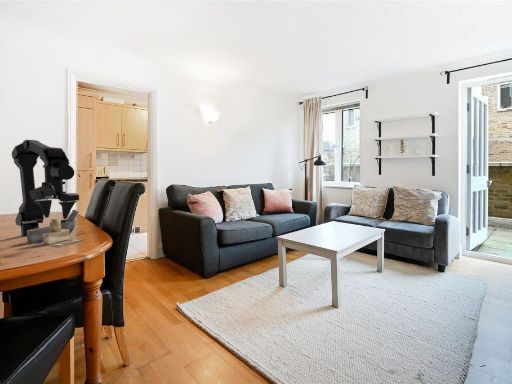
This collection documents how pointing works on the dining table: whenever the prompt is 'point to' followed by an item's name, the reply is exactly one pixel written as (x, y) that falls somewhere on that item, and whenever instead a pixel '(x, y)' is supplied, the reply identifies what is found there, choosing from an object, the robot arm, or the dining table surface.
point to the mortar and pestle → (69, 221)
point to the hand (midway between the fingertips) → (55, 218)
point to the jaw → (56, 233)
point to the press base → (37, 238)
